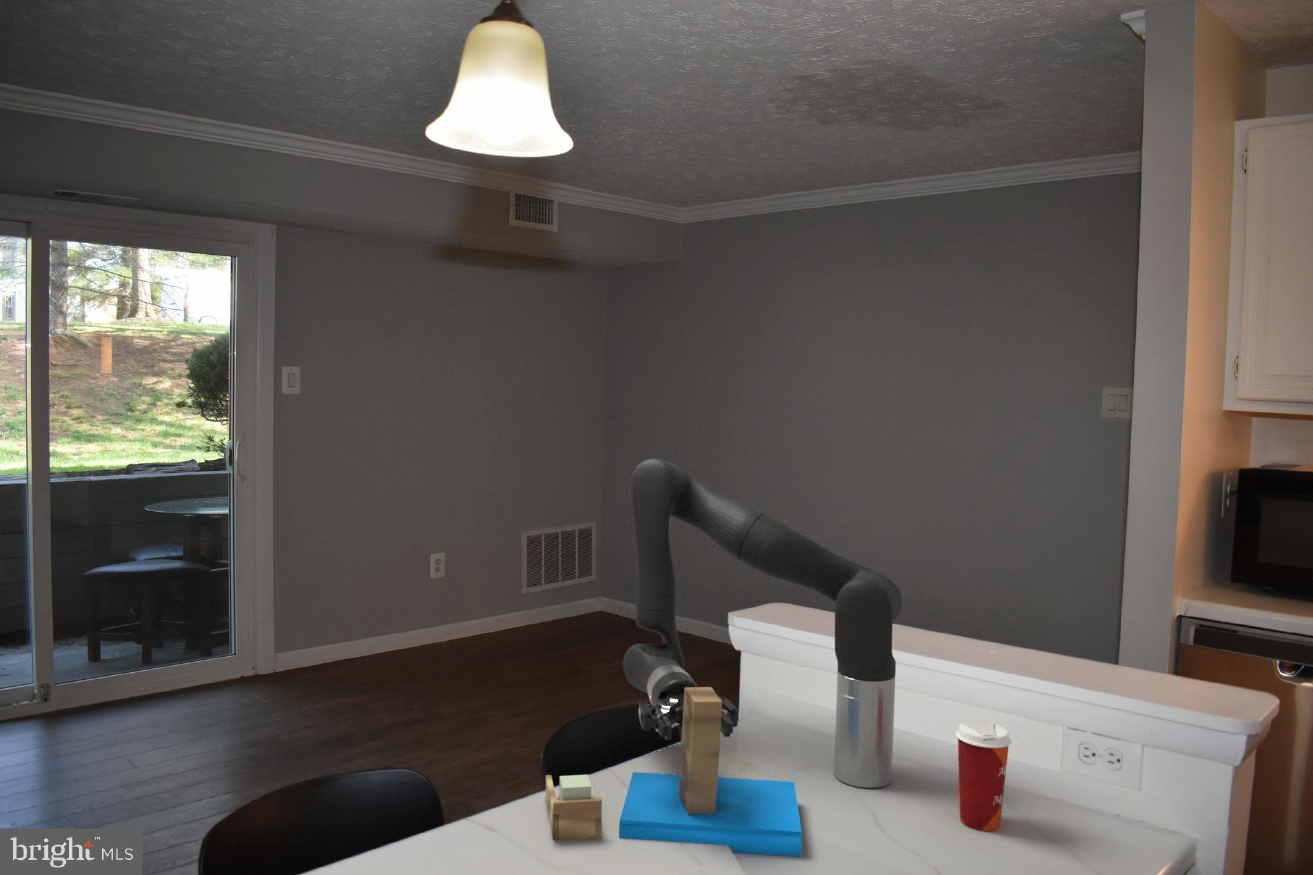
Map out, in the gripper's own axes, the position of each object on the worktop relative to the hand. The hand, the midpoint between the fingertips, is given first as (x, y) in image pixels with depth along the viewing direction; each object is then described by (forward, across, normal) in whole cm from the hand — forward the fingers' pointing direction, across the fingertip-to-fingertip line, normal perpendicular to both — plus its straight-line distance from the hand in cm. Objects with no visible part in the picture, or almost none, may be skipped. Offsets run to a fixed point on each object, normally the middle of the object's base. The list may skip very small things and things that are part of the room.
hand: (699, 731), depth 130 cm
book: (-3, +3, +15) cm, 16 cm away
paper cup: (+3, +42, +15) cm, 45 cm away
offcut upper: (-2, -17, +10) cm, 20 cm away
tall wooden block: (-2, 0, +11) cm, 11 cm away
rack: (-5, -17, +14) cm, 23 cm away
